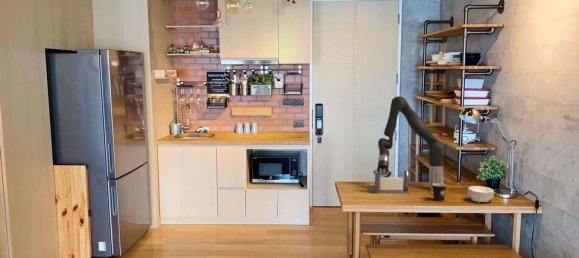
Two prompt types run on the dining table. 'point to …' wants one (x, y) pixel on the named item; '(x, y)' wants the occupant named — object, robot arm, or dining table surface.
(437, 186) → the coffee mug
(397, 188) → the gate
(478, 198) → the paper bowls
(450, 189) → the dining table surface
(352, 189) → the dining table surface
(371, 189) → the mat
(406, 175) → the gate posts
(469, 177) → the dining table surface
